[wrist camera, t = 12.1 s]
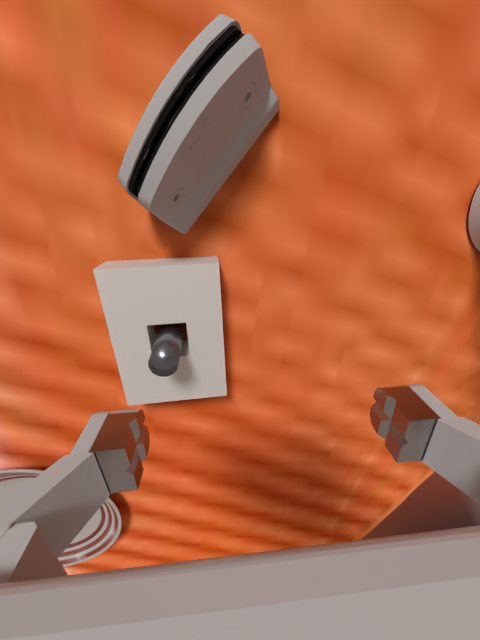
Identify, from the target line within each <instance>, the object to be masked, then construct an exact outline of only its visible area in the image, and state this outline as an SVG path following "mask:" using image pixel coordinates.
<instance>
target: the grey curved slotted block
mask: <svg viewBox="0 0 480 640" xmlns="http://www.w3.org/2000/svg"><path fill="white" fill-rule="evenodd" d="M278 111H279V99H278V97H277V96H276V94H275V92H274V90H273V89H272V87H271V85H270V81H269V76H268V72H267V68H266V63H265V59H264V55H263V51H262V48H261V47H260V45H259V44H258V43H257V41H256V40H255V39H254V37H253V36H252V34H250V33H248V34H246V35H245V34H242V31H241V28H240V25H239V23H238V21H236V20H234V19H232V18H230V17H228V16H226V15H224V14H220V15H218V16H217V17H216V18H215V19H214V20H213V21H212V22H211V23H210V24H209V25H208V26H207V27H206V28H205V29H204V30H203V31H202V32H201V33H200V34H199V35H198V36H197V37H196V38H195V39H194V40H193V41H192V43H191V44H190V45H189V46H188V47H187V49H186V50H185V51H184V52H183V54H182V55H181V56H180V57H179V59H178V60H177V61H176V62H175V64H174V65H173V67H172V68H171V70H170V71H169V72H168V74H167V75H166V77H165V78H164V80H163V81H162V83H161V84H160V86H159V87H158V89H157V91H156V92H155V94H154V96H153V98H152V99H151V101H150V103H149V104H148V106H147V108H146V110H145V112H144V114H143V116H142V118H141V120H140V122H139V124H138V126H137V128H136V130H135V132H134V134H133V136H132V139H131V141H130V143H129V146H128V148H127V151H126V154H125V156H124V159H123V162H122V165H121V168H120V171H119V174H118V180H119V182H120V184H121V185H122V186H123V188H124V189H125V190H126V192H127V193H128V194H129V195H130V196H132V197H133V198H134V199H135V200H137V201H138V202H139V204H141V205H142V206H143V207H144V208H145V209H147V210H148V211H149V212H151V213H152V214H153V215H155V216H156V217H157V218H158V219H160V220H161V221H162V222H164V223H165V224H167V225H169V226H170V227H172V228H174V229H175V230H177V231H178V232H180V233H182V234H185V235H186V234H187V232H188V231H189V230H190V228H191V227H192V226H193V224H194V223H195V222H196V220H197V219H198V218H199V216H200V215H201V214H202V212H203V211H204V210H205V208H206V207H207V206H208V204H209V203H210V202H211V200H212V199H213V198H214V196H215V195H216V194H217V192H218V191H219V190H220V188H221V187H222V186H223V184H224V183H225V182H226V180H227V179H228V178H229V176H230V175H231V174H232V172H233V171H234V169H235V168H236V167H237V165H238V164H239V163H240V161H241V160H242V159H243V157H244V156H245V155H246V153H247V152H248V151H249V149H250V148H251V147H252V145H253V144H254V143H255V141H256V140H257V139H258V137H259V136H260V135H261V133H262V132H263V131H264V129H265V128H266V127H267V125H268V124H269V123H270V121H271V120H272V119H273V117H274V116H275V115H276V113H277V112H278Z"/></svg>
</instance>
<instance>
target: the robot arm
mask: <svg viewBox="0 0 480 640" xmlns="http://www.w3.org/2000/svg"><path fill="white" fill-rule="evenodd" d="M468 226H469V234H470V237H471V240H472V242H473V244H474V246H475V247H476V248H477V250H478V251H480V184H479V186H478V188H477V190H476V192H475V195H474V197H473V200H472V203H471V207H470V212H469V220H468ZM373 398H374V399H375V400H376V403H375V404H374V405H373V406H372V407H371V411H370V418H371V423H372V425H373V428H374V429H375V431H376V432H377V434H378V435H380V436H381V437H383V438H384V439H386V441H385V446H386V447H387V449H388V450H389V452H390V453H391V455H392V456H393V458H394V459H395V461H396V462H411V461H422V462H423V463H424V464H426V465H427V466H428V467H430V468H431V469H433V470H434V471H435V472H437V473H438V474H440V475H441V476H442V477H443V478H445V479H446V480H448V481H449V482H450V483H452V484H453V485H454V486H456V487H457V488H459V489H460V490H461V491H463V492H464V493H465V494H467V495H468V496H469V497H471V498H472V499H474V500H475V501H477V502H478V503H479V504H480V424H477V423H475V422H473V421H471V420H468V419H466V418H464V417H457V416H456V415H455V414H454V413H453V412H452V411H451V410H450V409H449V408H447V407H446V406H445V405H444V404H443V403H442V402H441V401H440V400H439V399H438V398H436V397H435V396H434V395H433V394H432V393H431V392H430V391H429V390H428V389H427V388H426V387H424V386H423V385H421V384H413V385H405V386H395V387H385V388H377V389H376V390H375V392H374V396H373ZM144 420H145V416H144V413H143V410H141V409H137V410H122V411H111V412H96V413H94V414H93V415H92V416H91V418H90V419H89V421H88V423H87V425H86V426H85V428H84V430H83V432H82V434H81V435H80V437H79V439H78V441H77V442H76V444H75V446H74V448H73V449H72V451H71V453H70V455H64V456H63V457H62V458H60V459H59V460H58V461H56V462H55V463H54V464H53V465H51V466H50V467H49V468H47V469H46V470H45V471H43V472H42V473H41V474H40V475H38V476H37V477H36V478H34V479H33V480H32V481H30V482H29V483H28V484H27V485H25V486H24V487H23V488H21V489H20V490H19V491H17V492H16V493H15V494H14V495H12V496H11V497H10V498H8V499H7V500H6V501H5V502H3V503H2V504H1V505H0V640H480V526H472V527H464V528H456V529H448V530H439V531H431V532H423V533H414V534H406V535H398V536H390V537H381V538H373V539H364V540H356V541H348V542H339V543H331V544H323V545H315V546H306V547H298V548H290V549H282V550H274V551H265V552H257V553H249V554H241V555H232V556H224V557H216V558H208V559H199V560H191V561H183V562H175V563H166V564H158V565H150V566H142V567H133V568H125V569H117V570H109V571H100V572H92V573H84V574H76V575H68V574H67V572H66V570H65V569H64V567H63V566H62V564H61V563H60V561H59V559H58V558H59V556H60V555H61V554H62V553H63V552H64V550H65V549H66V548H67V547H68V546H69V544H70V543H71V542H72V541H73V540H74V538H75V537H76V536H77V535H78V533H79V532H80V531H81V530H82V529H83V527H84V526H85V525H86V524H87V523H88V521H89V520H90V519H91V518H92V516H93V515H94V514H95V513H96V512H97V510H98V509H99V508H100V507H101V506H102V504H103V503H104V502H105V501H106V499H107V498H108V497H109V496H110V493H117V492H125V491H132V490H138V488H139V484H140V481H141V477H142V473H143V466H142V461H143V460H144V459H145V458H146V457H147V454H148V450H149V431H148V428H147V427H146V426H145V425H144V424H143V423H144Z"/></svg>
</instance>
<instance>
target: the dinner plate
mask: <svg viewBox="0 0 480 640" xmlns="http://www.w3.org/2000/svg"><path fill="white" fill-rule="evenodd" d="M43 471H45V470H40V469H5V470H0V505H1V504H2V503H3V502H5V501H6V500H7V499H8V498H10V497H11V496H12V495H14V494H15V493H16V492H17V491H19V490H20V489H21V488H23V487H24V486H25V485H27V484H28V483H29V482H30V481H32V480H33V479H34V478H36V477H37V476H38V475H40V474H41V473H42V472H43ZM121 528H122V518H121V515H120V512H119V510H118V508H117V506H116V505H115V503H114V502H113V501H112V500H111V498H110V497H108V498H107V499H106V501H105V502H104V503H103V504H102V506H101V507H100V508H99V509H98V510H97V512H96V513H95V514H94V515H93V516H92V518H91V519H90V520H89V521H88V523H87V524H86V525H85V526H84V527H83V529H82V530H81V531H80V532H79V533H78V535H77V536H76V537H75V538H74V540H73V541H72V542H71V543H70V544H69V546H68V547H67V548H66V549H65V550H64V552H63V553H62V554H61V555H60V556H59V558H58V559H59V561H60V563H61V564H62V566H63V567H65V566H70V565H74V564H77V563H81V562H84V561H87V560H89V559H91V558H94V557H96V556H98V555H99V554H101V553H103V552H104V551H106V550H107V549H108V548H109V547H110V546H111V545H112V544H113V543H114V542H115V541H116V539H117V538H118V536H119V534H120V531H121Z"/></svg>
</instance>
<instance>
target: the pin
mask: <svg viewBox="0 0 480 640" xmlns="http://www.w3.org/2000/svg"><path fill="white" fill-rule="evenodd" d="M183 333H184V323H174V324H161V327H160V330H159V333H158V335H157V338H156V341H155V344H154V347H153V350H152V352H151V355H150V358H149V361H148V367H149V369H150V371H151V372H152V373H153V374H155V375H157V376H161V377H166V376H170V375H172V374H174V373H175V372H176V370H177V369H178V364H179V358H180V352H181V345H182V339H183Z"/></svg>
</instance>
